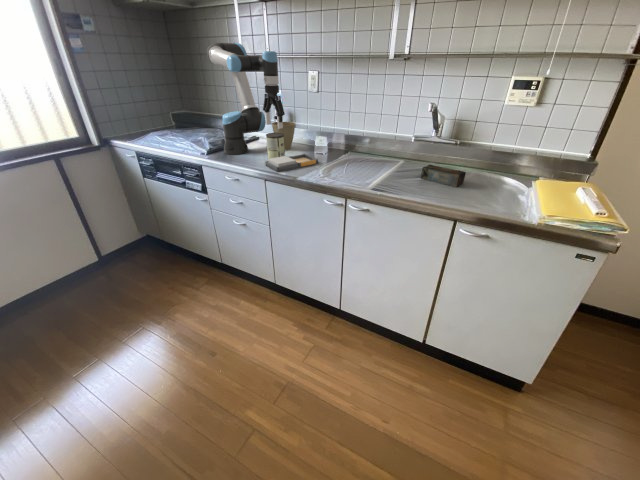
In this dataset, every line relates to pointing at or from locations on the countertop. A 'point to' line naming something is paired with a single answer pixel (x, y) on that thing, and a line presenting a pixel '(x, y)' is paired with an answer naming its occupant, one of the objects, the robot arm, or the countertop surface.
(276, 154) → the coffee can
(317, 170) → the countertop surface
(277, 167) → the grey compartment tray
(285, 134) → the plant pot
